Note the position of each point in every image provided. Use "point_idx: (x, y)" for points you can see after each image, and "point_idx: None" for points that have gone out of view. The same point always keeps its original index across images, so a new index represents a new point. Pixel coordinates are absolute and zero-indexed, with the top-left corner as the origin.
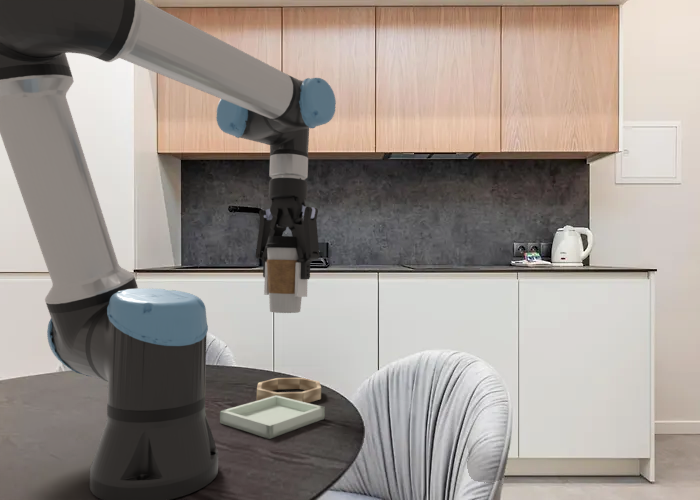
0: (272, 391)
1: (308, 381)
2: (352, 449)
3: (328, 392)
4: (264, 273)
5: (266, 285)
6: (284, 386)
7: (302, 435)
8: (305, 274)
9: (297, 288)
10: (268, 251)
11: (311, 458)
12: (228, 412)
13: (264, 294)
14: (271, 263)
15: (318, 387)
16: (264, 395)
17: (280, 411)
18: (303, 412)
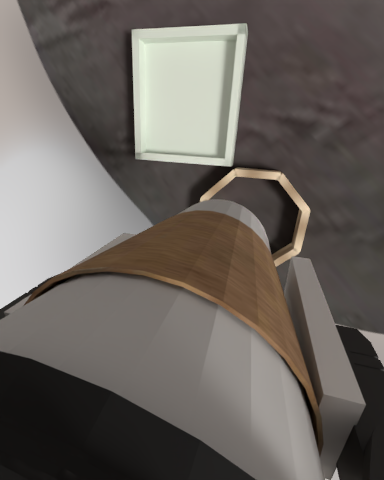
0: (247, 176)
1: None
2: (55, 86)
3: None
4: (359, 347)
5: (301, 278)
6: (282, 249)
7: (121, 83)
8: (41, 285)
9: (107, 244)
10: (205, 391)
11: (63, 25)
12: (228, 29)
13: (307, 258)
14: (171, 261)
15: None
16: (261, 170)
17: (197, 133)
18: (139, 118)
